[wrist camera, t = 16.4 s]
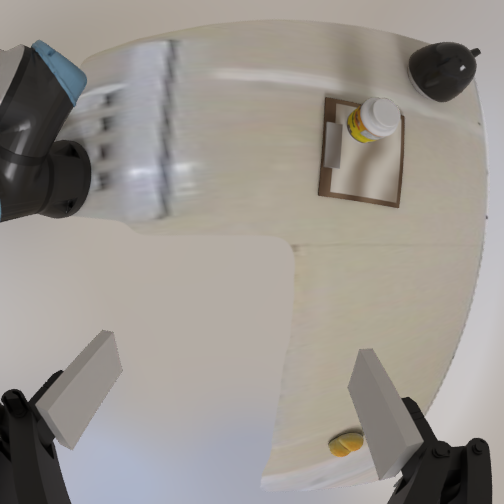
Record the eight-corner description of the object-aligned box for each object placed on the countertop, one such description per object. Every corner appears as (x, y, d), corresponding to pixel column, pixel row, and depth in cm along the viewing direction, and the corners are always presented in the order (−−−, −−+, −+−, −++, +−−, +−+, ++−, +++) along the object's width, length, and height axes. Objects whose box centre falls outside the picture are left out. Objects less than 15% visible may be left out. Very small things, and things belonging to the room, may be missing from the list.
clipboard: (318, 195, 40) (320, 195, 39) (325, 98, 36) (327, 95, 35) (397, 207, 40) (401, 208, 38) (402, 116, 36) (407, 114, 34)
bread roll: (366, 438, 53) (369, 449, 49) (337, 452, 55) (339, 463, 51) (354, 426, 52) (357, 438, 48) (323, 441, 54) (325, 453, 50)
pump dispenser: (452, 95, 34) (501, 77, 19) (423, 114, 35) (475, 95, 21) (422, 52, 32) (463, 21, 17) (389, 67, 34) (430, 31, 19)
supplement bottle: (351, 105, 36) (374, 84, 26) (381, 121, 36) (410, 106, 26) (340, 134, 37) (361, 119, 27) (370, 150, 37) (399, 141, 27)
